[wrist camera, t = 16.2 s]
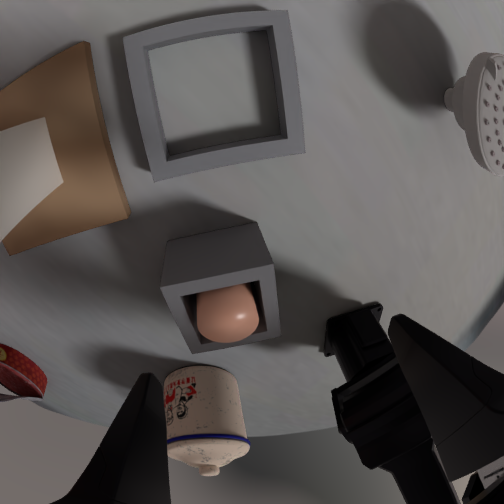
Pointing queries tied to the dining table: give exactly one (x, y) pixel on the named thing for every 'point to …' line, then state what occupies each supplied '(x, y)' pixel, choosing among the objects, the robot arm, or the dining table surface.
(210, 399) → the teacup with lid
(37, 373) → the canned food
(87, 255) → the dining table surface
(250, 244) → the housing
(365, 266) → the dining table surface
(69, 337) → the dining table surface
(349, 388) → the robot arm
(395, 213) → the dining table surface
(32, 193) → the cartridge
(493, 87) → the showerhead
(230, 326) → the pink ball
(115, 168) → the pad
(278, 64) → the collar
